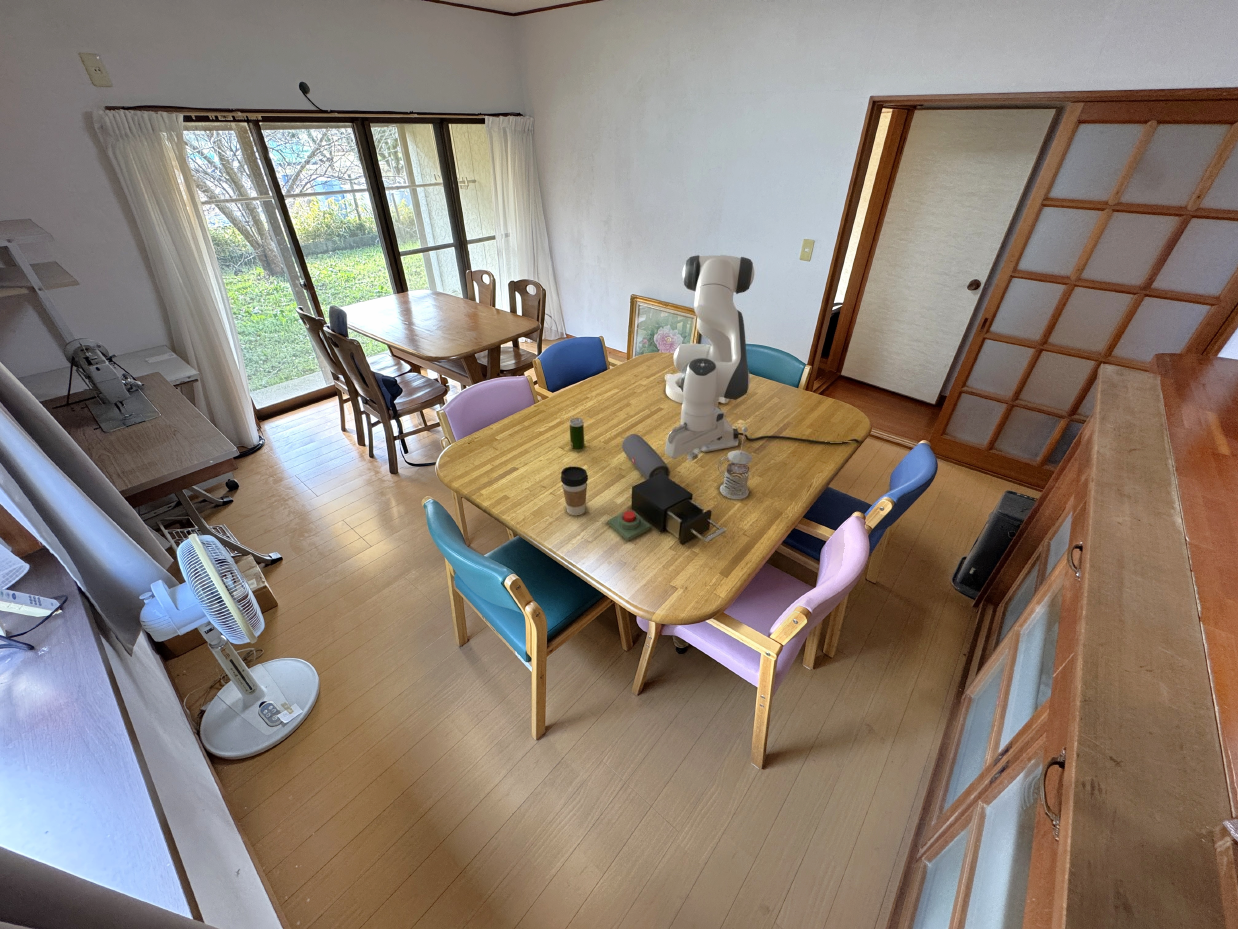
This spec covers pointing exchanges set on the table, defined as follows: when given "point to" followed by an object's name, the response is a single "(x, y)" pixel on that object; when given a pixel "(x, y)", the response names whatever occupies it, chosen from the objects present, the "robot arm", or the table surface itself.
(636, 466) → the bluetooth speaker
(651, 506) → the dark drawer cabinet
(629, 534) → the control block
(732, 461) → the french press
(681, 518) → the black drawer
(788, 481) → the table surface
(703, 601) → the table surface
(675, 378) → the white circle with bar
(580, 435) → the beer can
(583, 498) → the coffee cup
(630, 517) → the stop button
